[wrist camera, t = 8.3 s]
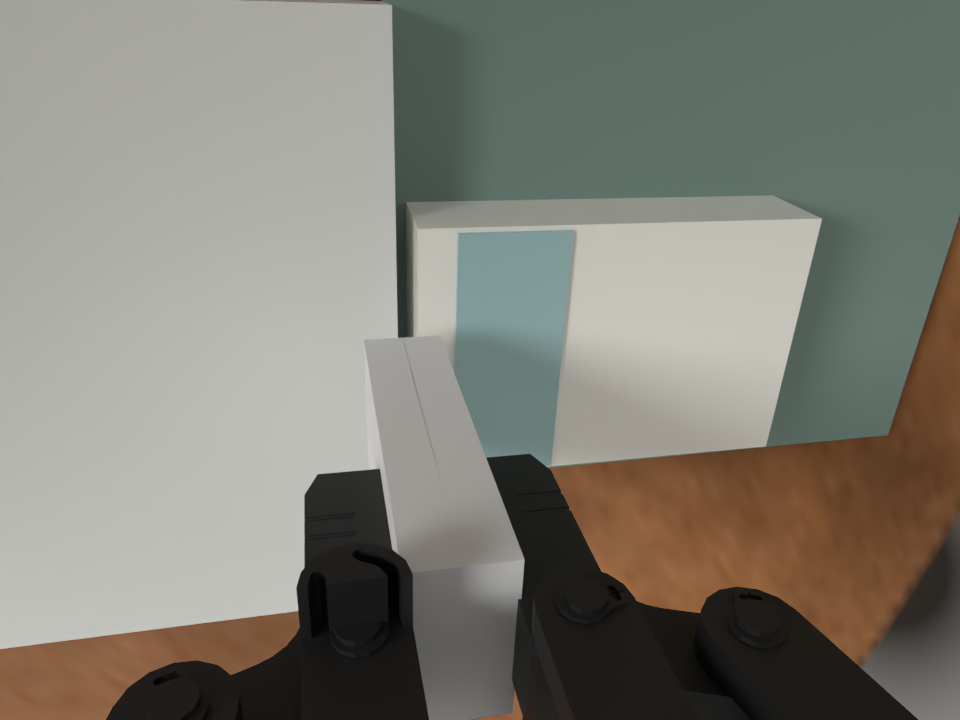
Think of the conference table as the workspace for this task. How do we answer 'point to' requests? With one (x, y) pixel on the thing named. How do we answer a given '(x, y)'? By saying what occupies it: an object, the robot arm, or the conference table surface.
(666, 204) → the card
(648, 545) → the conference table surface
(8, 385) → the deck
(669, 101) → the mat
